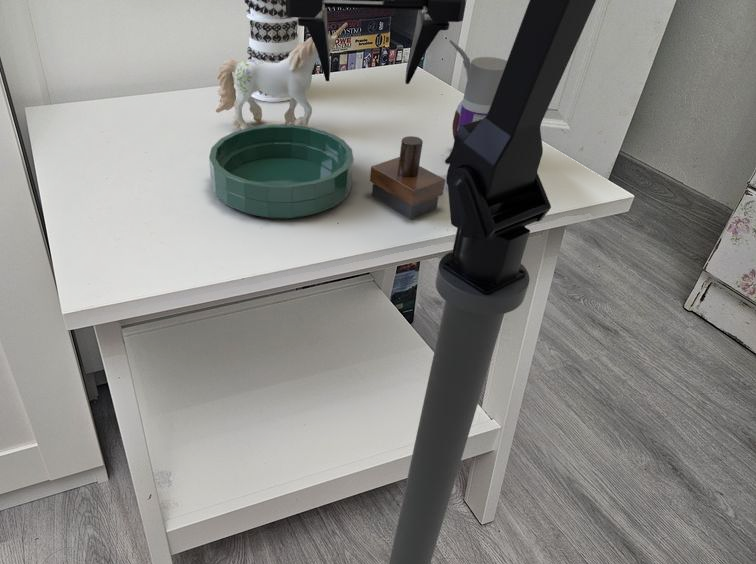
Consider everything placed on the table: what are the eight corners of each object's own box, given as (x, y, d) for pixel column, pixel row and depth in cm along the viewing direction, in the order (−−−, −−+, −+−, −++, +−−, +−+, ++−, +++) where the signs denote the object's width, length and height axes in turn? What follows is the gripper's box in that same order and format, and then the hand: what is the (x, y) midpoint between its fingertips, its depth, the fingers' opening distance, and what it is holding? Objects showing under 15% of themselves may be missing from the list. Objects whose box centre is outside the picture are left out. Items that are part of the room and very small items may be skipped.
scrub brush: (440, 209, 77) (451, 146, 72) (410, 221, 75) (419, 157, 70) (397, 185, 82) (405, 124, 77) (368, 196, 80) (374, 134, 74)
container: (444, 175, 84) (466, 56, 74) (479, 176, 84) (506, 56, 74) (451, 193, 81) (475, 69, 71) (488, 193, 81) (517, 70, 71)
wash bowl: (378, 195, 80) (382, 161, 77) (262, 237, 72) (261, 201, 69) (296, 146, 91) (297, 114, 88) (187, 178, 83) (184, 145, 80)
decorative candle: (241, 84, 109) (234, -92, 92) (294, 80, 110) (296, -94, 94) (252, 104, 102) (246, -82, 86) (307, 100, 104) (312, -84, 87)
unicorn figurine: (352, 135, 94) (359, 37, 85) (219, 142, 91) (212, 42, 82) (341, 116, 99) (347, 22, 90) (216, 122, 97) (209, 27, 88)
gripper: (464, -89, 69) (441, 61, 80) (293, -92, 70) (292, 57, 81) (479, -72, 61) (451, 93, 71) (285, -76, 62) (285, 88, 72)
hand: (367, 81), depth 74 cm, fingers open, 9 cm apart
